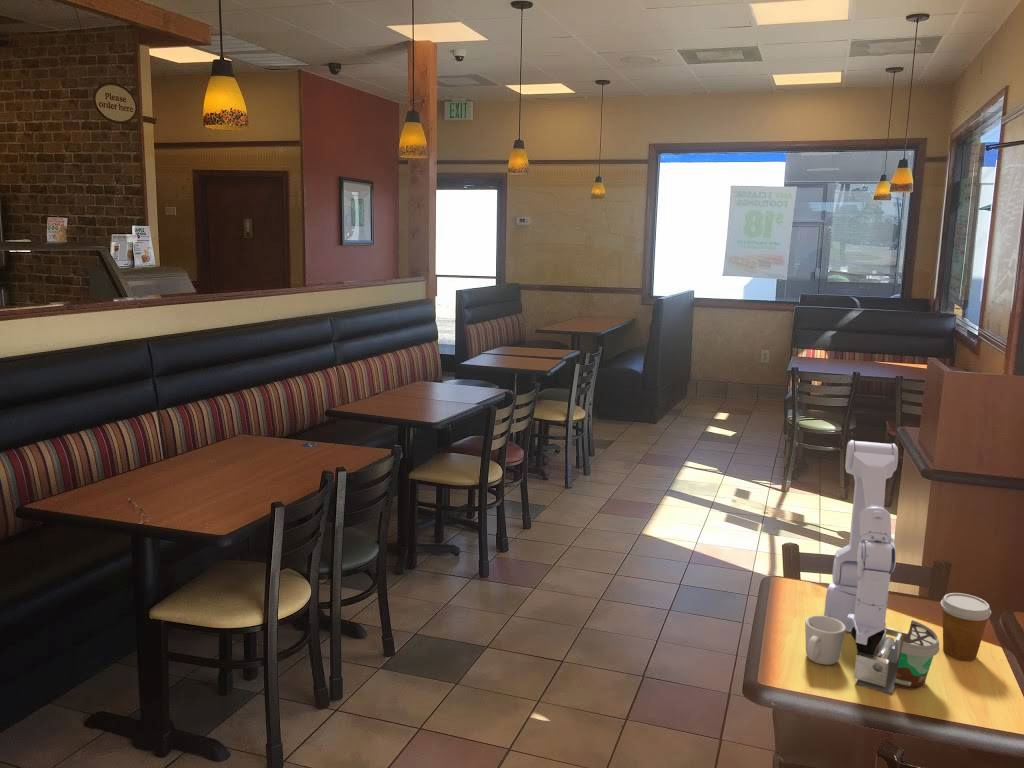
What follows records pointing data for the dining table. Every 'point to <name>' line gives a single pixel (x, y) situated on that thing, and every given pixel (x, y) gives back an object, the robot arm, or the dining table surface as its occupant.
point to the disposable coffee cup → (963, 625)
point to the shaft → (874, 665)
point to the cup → (824, 639)
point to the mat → (890, 679)
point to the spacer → (895, 632)
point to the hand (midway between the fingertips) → (864, 663)
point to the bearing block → (895, 649)
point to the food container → (916, 656)
